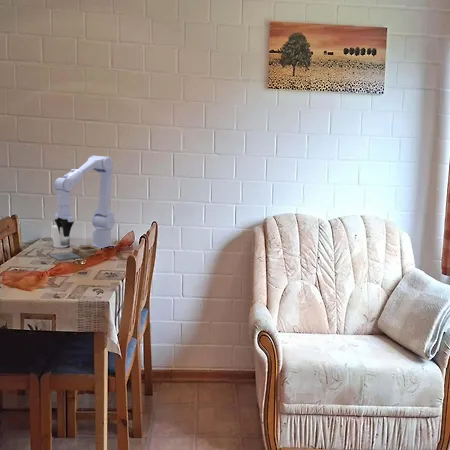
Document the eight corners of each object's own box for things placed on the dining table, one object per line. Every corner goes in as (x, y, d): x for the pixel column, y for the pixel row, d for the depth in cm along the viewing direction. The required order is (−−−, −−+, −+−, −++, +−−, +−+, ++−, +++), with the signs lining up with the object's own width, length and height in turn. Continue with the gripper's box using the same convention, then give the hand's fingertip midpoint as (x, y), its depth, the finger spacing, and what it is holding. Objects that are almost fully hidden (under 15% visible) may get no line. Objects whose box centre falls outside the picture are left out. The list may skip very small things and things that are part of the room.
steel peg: (58, 244, 239) (58, 226, 238) (67, 243, 242) (66, 225, 240) (62, 245, 236) (62, 228, 235) (71, 244, 239) (70, 227, 237)
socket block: (72, 252, 248) (72, 247, 247) (92, 250, 254) (92, 244, 254) (82, 257, 240) (82, 251, 240) (102, 254, 247) (102, 249, 246)
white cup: (51, 245, 261) (50, 224, 259) (67, 244, 265) (67, 224, 263) (53, 248, 254) (52, 227, 252) (70, 247, 258) (70, 227, 256)
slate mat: (49, 255, 240) (49, 254, 240) (70, 252, 247) (70, 252, 247) (58, 260, 233) (58, 259, 233) (80, 257, 240) (80, 256, 239)
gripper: (48, 203, 239) (48, 233, 241) (62, 208, 228) (62, 239, 230) (63, 202, 243) (63, 232, 246) (77, 207, 232) (78, 237, 235)
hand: (64, 235), depth 238 cm, fingers closed on steel peg, 4 cm apart
